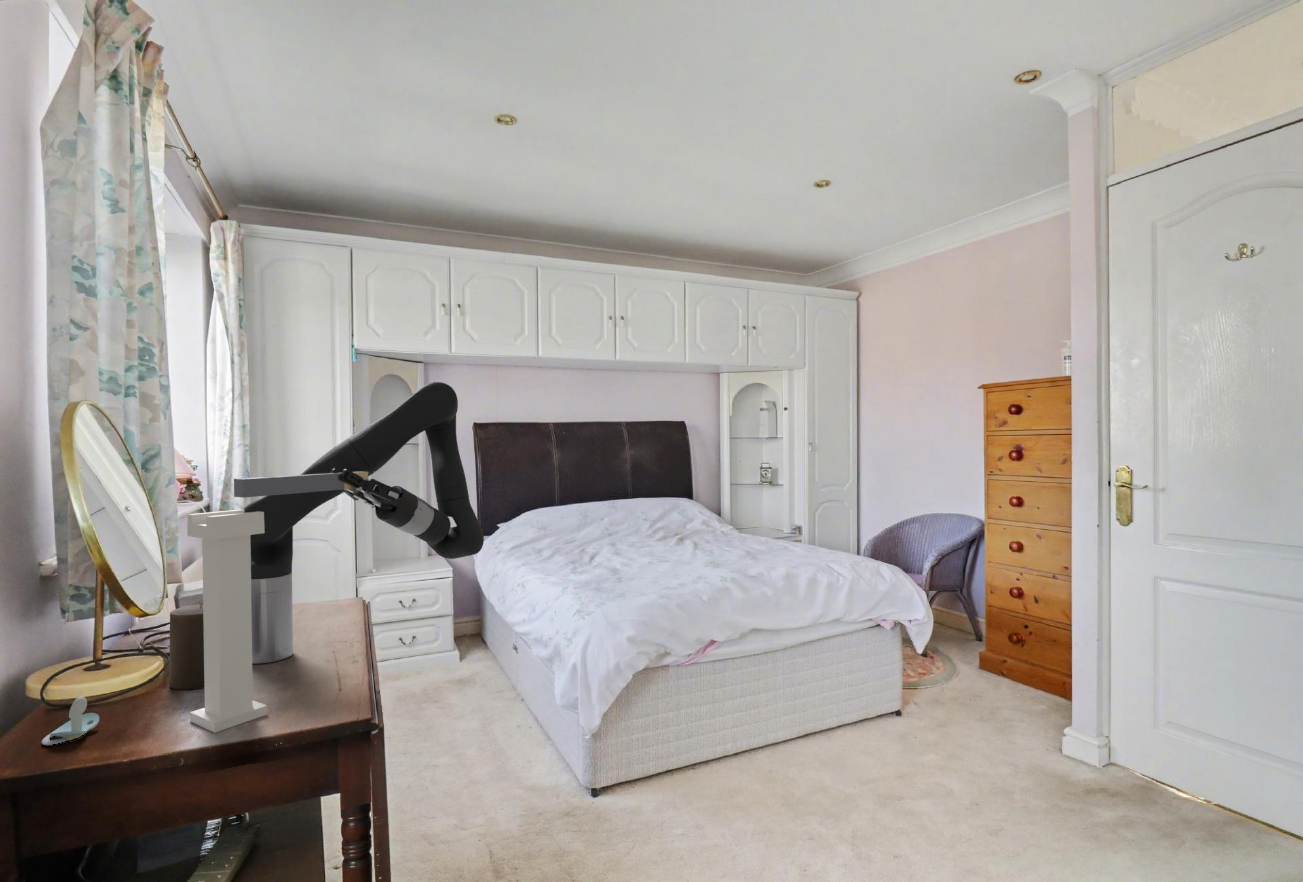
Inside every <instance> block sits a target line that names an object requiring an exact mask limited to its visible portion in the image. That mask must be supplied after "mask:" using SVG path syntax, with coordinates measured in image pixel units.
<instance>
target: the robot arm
mask: <svg viewBox="0 0 1303 882" xmlns="http://www.w3.org/2000/svg"><path fill="white" fill-rule="evenodd" d="M458 404H459V400H458V396H457V393H456V391H455V389H454V388H453V387H452V386H450V385H449V384H448V383H445V382H440V381H433V382H429V383H425V384H424V385H423V386H421V387H420V388H419V389H417V390H416V391H415V392H414V393H413V394H412V395H411V396H409V397H408V398H406V399H405V400H404V401H403V402H402V403H400V405H398V406H397V407H396V408H395V409H393V410H392V411H390V412H388V413H387V414H386V415H385V416H383V417H381V418H379V419H377V420H376V421H374V422H372V423H370V424H369V425H367V426H366V427H363V428H362V429H360V430H359V431H357V432H356V433H354V434H352V435H350V436H349V437H347V438H346V439H344V440H343V441H341V442H340V443H339V444H336V445H335V446H334V447H332V448H331V449H330V450H329V451H327V452H325V454H323V455H322V456H321V457H319V458H318V459H316V460H315V461H314V462H313V463H312V464H311V465H310V466H309V467H307V468H306V469H305V470H304V471H303V472H302V473H300V475H308V474H325V473H342V474H341V476H340V480H342V481H344V482H346V483H347V484H349V485H351V486H353V487H355V489H343V490H330V491H318V492H306V493H294V494H282V495H269V496H262V497H261V498H257V499H256V500H253V501H252V502H250V503H248V504H246V506H245V507H244V508H243V509H242V510H244V512H245V513H248V512H258V511H260V512H264V531H265V533H262V534H254V535H250V545H251V613H252V665H254V664H255V665H256V664H258V665H259V664H267V663H273V662H277V661H281V660H284V659H288V658H290V657H291V656H292V655H293V654H294V624H293V623H294V622H293V621H294V620H293V619H294V617H293V615H294V614H293V612H294V611H293V608H294V607H293V573H292V572H293V557H294V556H293V555H294V543H293V542H294V529H293V528H294V527H295V526H296V524H298V523H299V522H300V521H302V520H303V519H304V518H305V517H306V516H307V515H309V514H310V513H311V512H313V511H314V510H316V508H319V507H320V506H322V505H323V504H325V503H327V502H329V501H331V500H333V499H335V498H336V497H338V496H340V495H341V494H346V495H347V496H348V497H350V498H351V499H353V500H354V501H359V500H360V501H362V502H364V504H366V505H368V506H370V507H375V511H374V512H375V516H376V518H377V519H379V520H381V521H382V522H384V523H386V524H388V525H389V526H392V527H394V528H395V529H398V530H399V531H402V532H404V533H407V534H410V535H412V536H413V537H415V538H418V539H419V540H421V541H423V542H426V544H427V545H428V547H430V549H432V550H433V551H434V552H435V553H436V554H437V555H438V556H440V557H441V558H444V559H448V560H455V559H460V558H464V557H465V558H466V557H470V556H474V555H477V554H479V553H480V551H482V548H483V546H484V541H485V537H484V536H485V535H484V531H483V528H482V526H481V524H480V522H479V519H478V518H477V516H476V513H475V511H474V509H473V507H472V505H471V503H470V501H471V500H470V495H469V490H468V485H467V479H466V474H465V470H464V465H463V462H462V459H461V455H460V450H459V446H458V439H457V413H458V408H459V405H458ZM422 432H425V435H426V438H427V441H428V446H429V451H430V458H431V468H432V469H431V470H432V478H433V486H434V487H433V488H434V491H435V493H434V494H435V499H436V504H437V508H435V507H434V506H432V505H431V504H430V503H428V502H427V501H426V500H424V499H422V497H421V498H420V497H419V496H418V495H416V494H414V493H413V492H410V491H409V490H407V489H405V488H403V487H402V486H399V485H394V486H390V485H387V484H385V483H383V482H381V481H379V480H377V479H375V478H370V479H369V477H370V476H372V475H373V474H374V473H376V472H377V471H379V470H380V469H381V468H382V467H384V466H385V465H386V464H387V463H388V462H389V461H390V460H391V459H392V458H394V456H395V455H397V453H399V451H400V450H401V449H402V448H403V447H404V446H405V445H406V444H408V442H410V441H411V440H412V439H413V438H415V437H416V436H419V434H421V433H422ZM354 472H368V479H367V478H366V477H361V476H359V475H357V474H355V473H354ZM357 486H358V487H357ZM450 518H451V519H453V521H454V523H455V525H456V526H451V524H452V523H451V520H450Z"/></svg>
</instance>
